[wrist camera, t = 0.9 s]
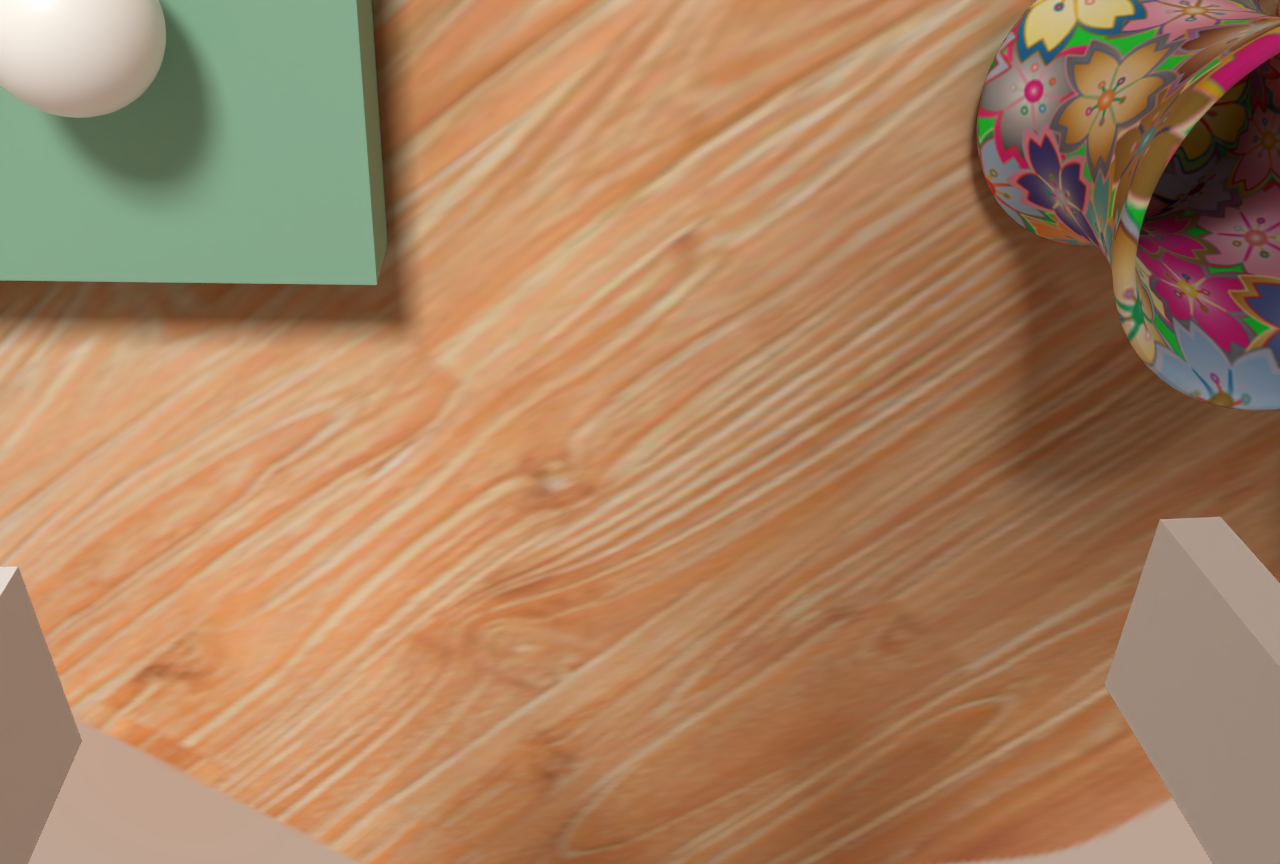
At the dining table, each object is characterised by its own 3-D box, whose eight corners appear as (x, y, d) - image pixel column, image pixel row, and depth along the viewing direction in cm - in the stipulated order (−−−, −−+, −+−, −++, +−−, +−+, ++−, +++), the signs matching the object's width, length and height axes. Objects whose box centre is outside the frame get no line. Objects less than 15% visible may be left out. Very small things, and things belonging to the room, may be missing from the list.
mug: (1069, 300, 36) (1255, 480, 27) (888, 111, 32) (1034, 246, 23) (1400, 13, 32) (1748, 110, 23) (1240, -243, 28) (1581, -246, 19)
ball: (-15, -92, 25) (-100, -69, 21) (171, -83, 25) (117, -59, 22) (26, 90, 27) (-45, 137, 23) (197, 95, 27) (151, 142, 24)
